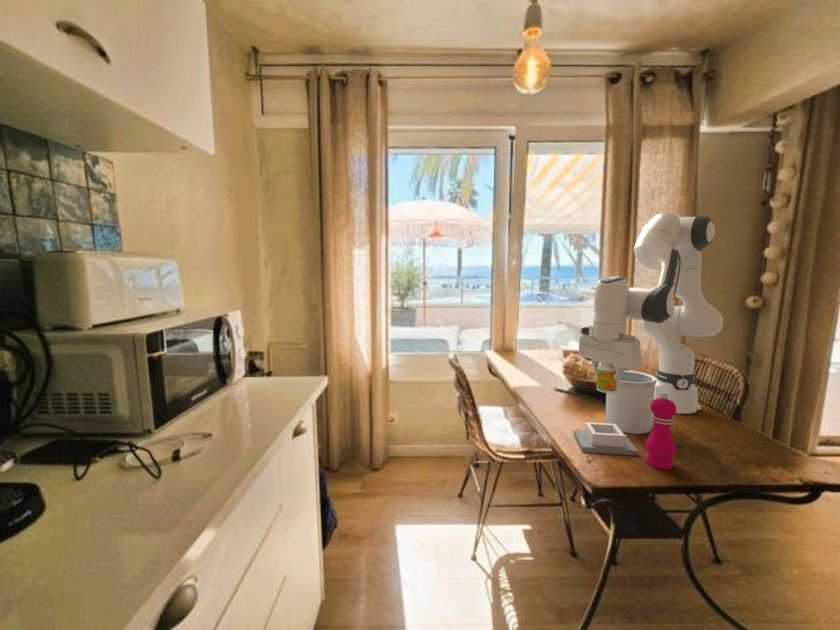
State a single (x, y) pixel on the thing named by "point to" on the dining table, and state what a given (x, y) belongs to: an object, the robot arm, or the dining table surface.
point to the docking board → (604, 439)
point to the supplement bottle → (606, 377)
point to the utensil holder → (631, 403)
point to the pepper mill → (661, 434)
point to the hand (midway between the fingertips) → (606, 377)
